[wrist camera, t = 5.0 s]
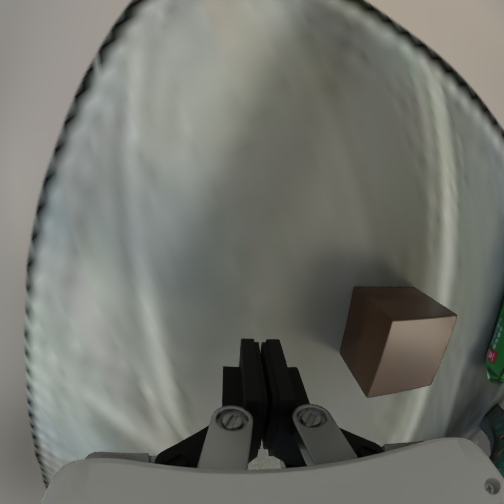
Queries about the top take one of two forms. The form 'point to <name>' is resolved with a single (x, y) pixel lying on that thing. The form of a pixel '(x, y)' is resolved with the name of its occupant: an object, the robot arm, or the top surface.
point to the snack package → (496, 353)
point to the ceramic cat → (495, 436)
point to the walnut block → (395, 338)
